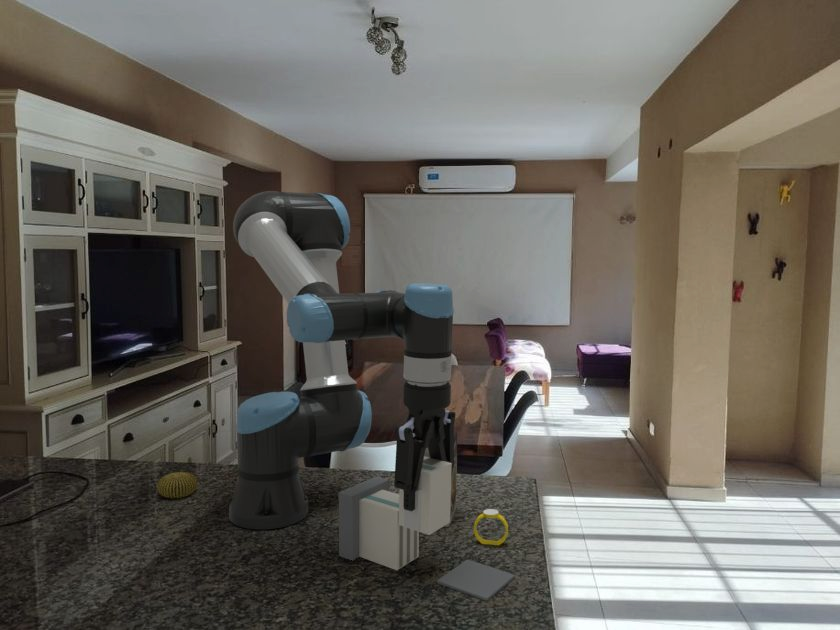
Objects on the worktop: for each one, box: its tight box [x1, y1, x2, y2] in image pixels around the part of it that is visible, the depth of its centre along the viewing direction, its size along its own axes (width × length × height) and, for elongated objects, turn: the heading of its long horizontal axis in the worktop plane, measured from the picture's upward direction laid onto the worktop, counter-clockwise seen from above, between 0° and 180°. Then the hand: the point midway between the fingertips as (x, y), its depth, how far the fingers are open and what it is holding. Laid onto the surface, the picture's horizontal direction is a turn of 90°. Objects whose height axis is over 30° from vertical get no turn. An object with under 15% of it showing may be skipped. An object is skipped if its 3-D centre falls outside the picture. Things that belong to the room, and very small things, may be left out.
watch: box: [473, 508, 509, 546], centre depth 118 cm, size 6×3×6 cm, turn 80°
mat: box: [436, 559, 516, 602], centre depth 105 cm, size 9×9×1 cm
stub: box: [398, 456, 452, 536], centre depth 107 cm, size 6×6×10 cm
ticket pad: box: [337, 475, 420, 571], centre depth 113 cm, size 12×10×11 cm
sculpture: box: [156, 471, 198, 499], centre depth 140 cm, size 8×4×8 cm
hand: (424, 520), depth 108 cm, fingers closed on stub, 6 cm apart
